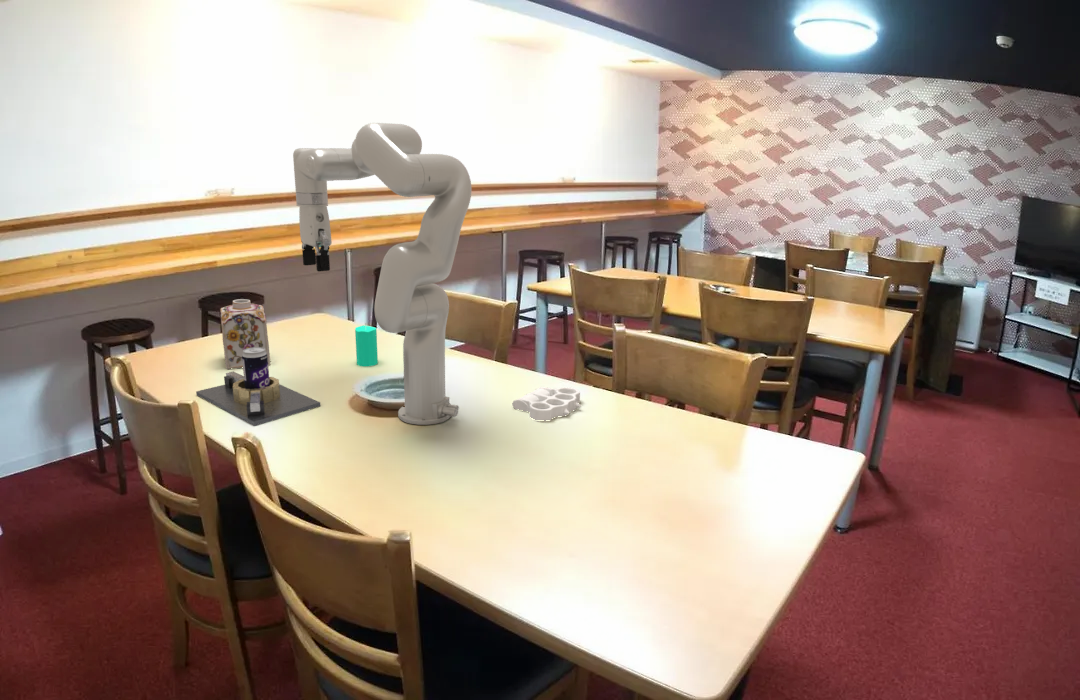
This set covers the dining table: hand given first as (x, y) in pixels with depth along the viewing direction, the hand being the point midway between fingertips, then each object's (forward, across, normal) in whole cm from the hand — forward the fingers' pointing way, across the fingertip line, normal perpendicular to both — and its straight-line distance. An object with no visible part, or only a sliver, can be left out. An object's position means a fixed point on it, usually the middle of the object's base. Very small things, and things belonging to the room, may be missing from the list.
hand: (316, 267), depth 179 cm
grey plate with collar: (+30, -7, +19) cm, 36 cm away
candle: (+31, +7, -16) cm, 35 cm away
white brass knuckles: (+31, -50, -39) cm, 70 cm away
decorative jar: (+31, +26, +13) cm, 42 cm away
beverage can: (+30, -7, +19) cm, 36 cm away
